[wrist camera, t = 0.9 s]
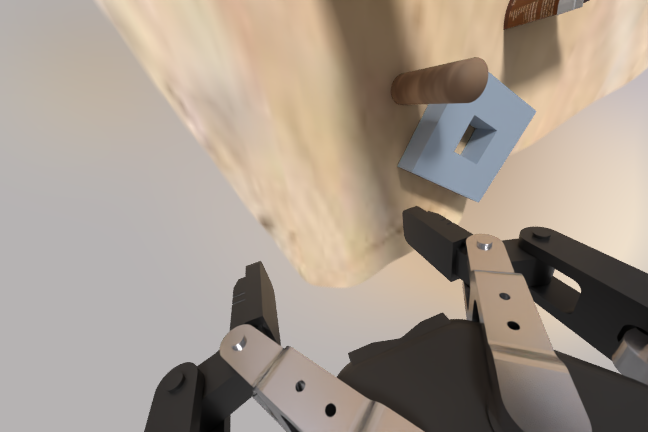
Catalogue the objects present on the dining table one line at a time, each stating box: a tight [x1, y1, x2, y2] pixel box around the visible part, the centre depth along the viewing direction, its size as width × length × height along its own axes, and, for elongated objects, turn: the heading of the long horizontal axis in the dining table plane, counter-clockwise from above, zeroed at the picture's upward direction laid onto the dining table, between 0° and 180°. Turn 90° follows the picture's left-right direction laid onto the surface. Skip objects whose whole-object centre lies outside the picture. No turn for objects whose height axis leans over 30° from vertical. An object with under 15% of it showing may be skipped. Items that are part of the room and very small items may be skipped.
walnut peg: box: [391, 57, 488, 105], centre depth 29 cm, size 4×4×12 cm
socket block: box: [398, 72, 536, 202], centre depth 38 cm, size 16×16×4 cm
